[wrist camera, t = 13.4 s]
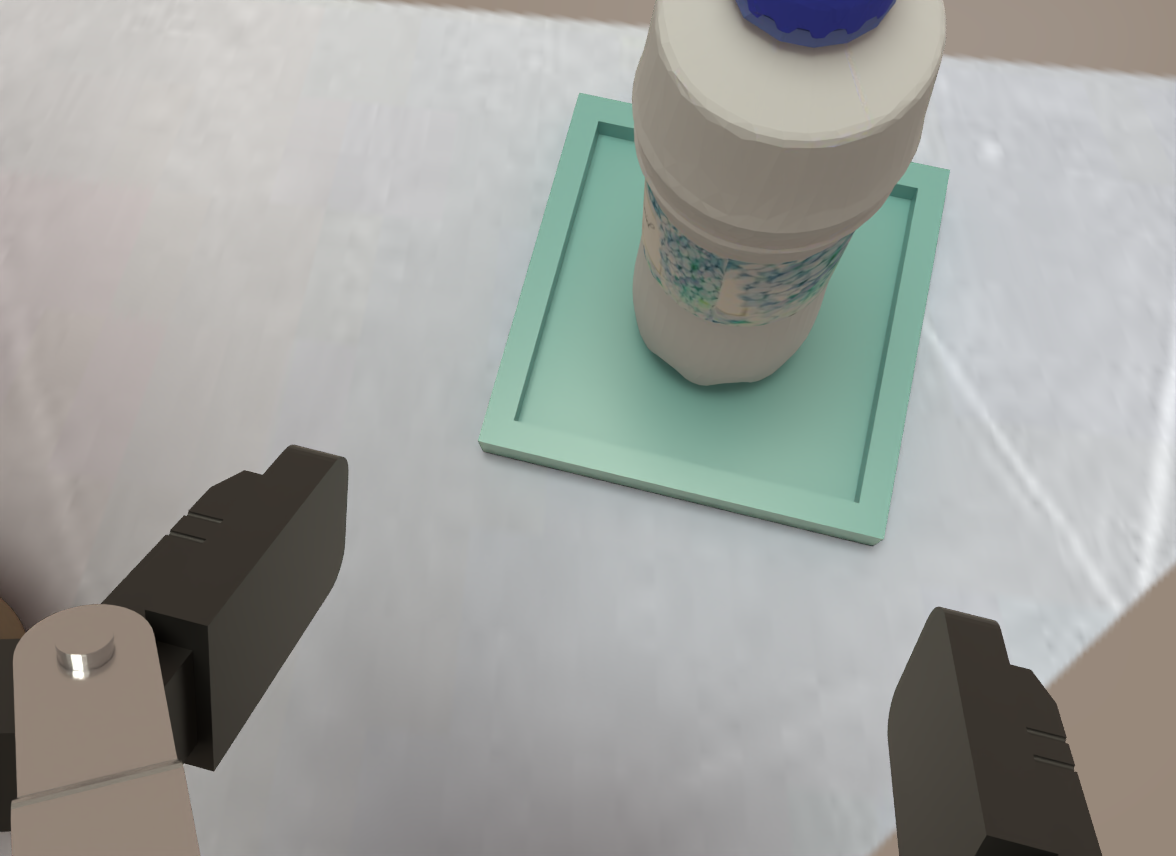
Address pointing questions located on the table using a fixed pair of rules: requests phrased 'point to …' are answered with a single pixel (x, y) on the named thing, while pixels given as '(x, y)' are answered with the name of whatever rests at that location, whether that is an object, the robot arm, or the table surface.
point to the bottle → (766, 164)
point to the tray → (722, 411)
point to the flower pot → (9, 623)
